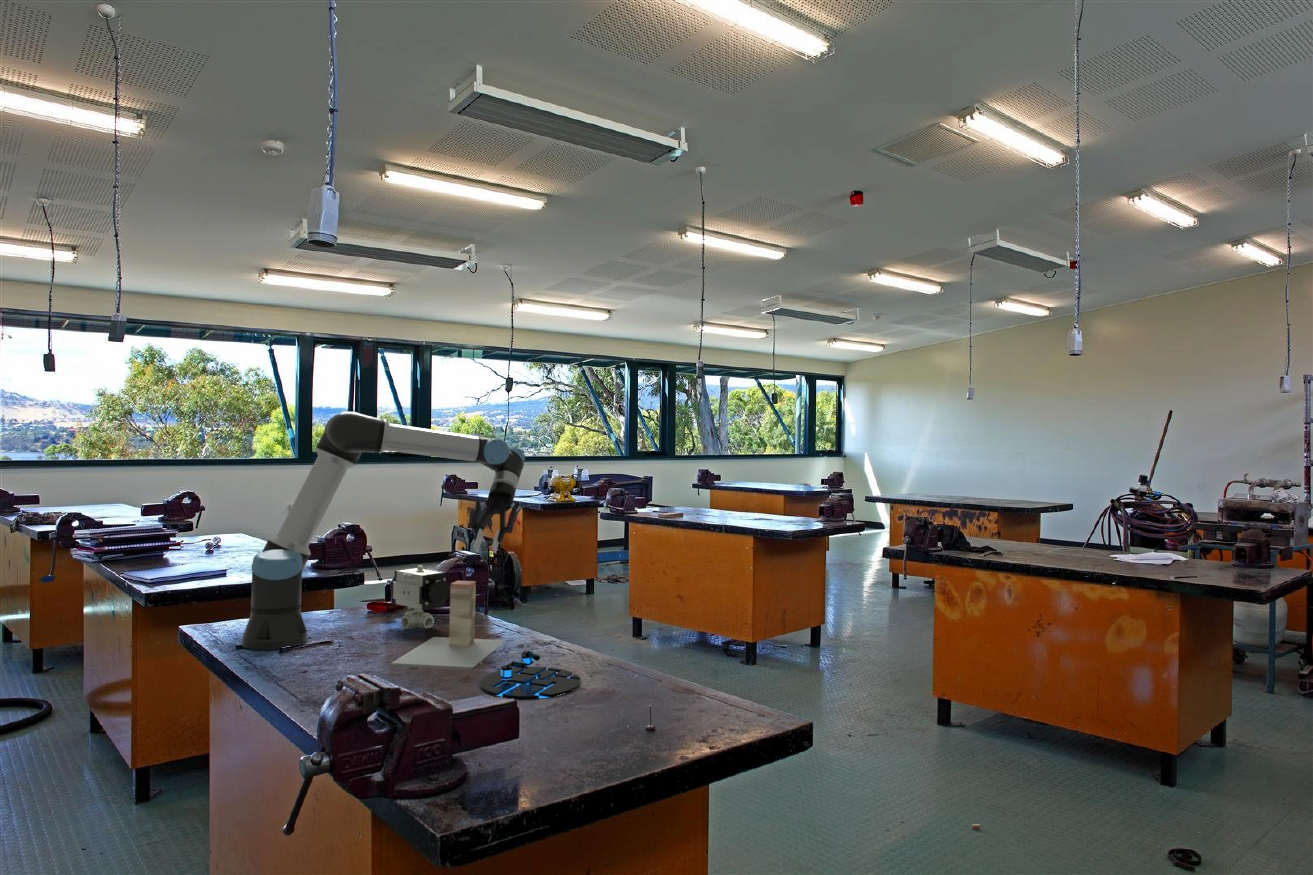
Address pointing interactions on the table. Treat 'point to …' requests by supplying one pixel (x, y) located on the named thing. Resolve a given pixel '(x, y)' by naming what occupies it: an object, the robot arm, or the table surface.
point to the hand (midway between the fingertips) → (484, 549)
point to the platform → (528, 680)
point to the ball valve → (419, 594)
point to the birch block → (462, 613)
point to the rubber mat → (448, 654)
